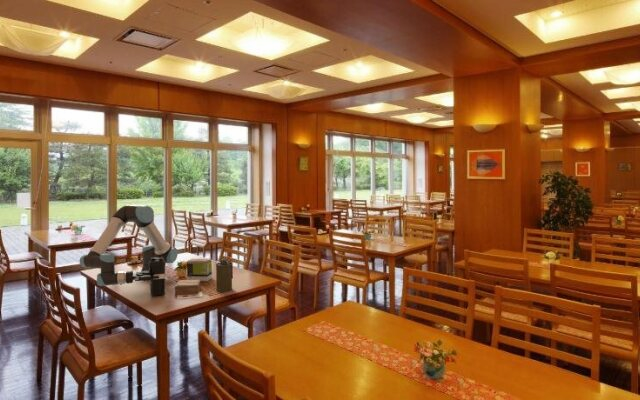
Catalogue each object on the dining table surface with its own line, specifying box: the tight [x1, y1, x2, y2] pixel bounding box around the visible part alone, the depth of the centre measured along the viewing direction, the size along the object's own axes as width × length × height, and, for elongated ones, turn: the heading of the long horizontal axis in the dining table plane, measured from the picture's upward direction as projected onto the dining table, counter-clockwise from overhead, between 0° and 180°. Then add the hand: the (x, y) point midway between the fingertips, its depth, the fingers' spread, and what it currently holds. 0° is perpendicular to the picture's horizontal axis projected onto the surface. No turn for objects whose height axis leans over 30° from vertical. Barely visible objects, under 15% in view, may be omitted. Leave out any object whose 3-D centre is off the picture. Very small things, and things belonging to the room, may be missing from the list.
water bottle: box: [148, 257, 167, 296], centre depth 250 cm, size 10×10×23 cm
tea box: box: [186, 258, 213, 282], centre depth 286 cm, size 15×10×15 cm
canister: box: [215, 258, 234, 293], centre depth 262 cm, size 11×10×20 cm
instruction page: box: [176, 291, 203, 300], centre depth 250 cm, size 10×15×1 cm, turn 109°
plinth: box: [174, 279, 202, 297], centre depth 257 cm, size 14×14×6 cm
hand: (164, 274), depth 252 cm, fingers closed on water bottle, 9 cm apart
